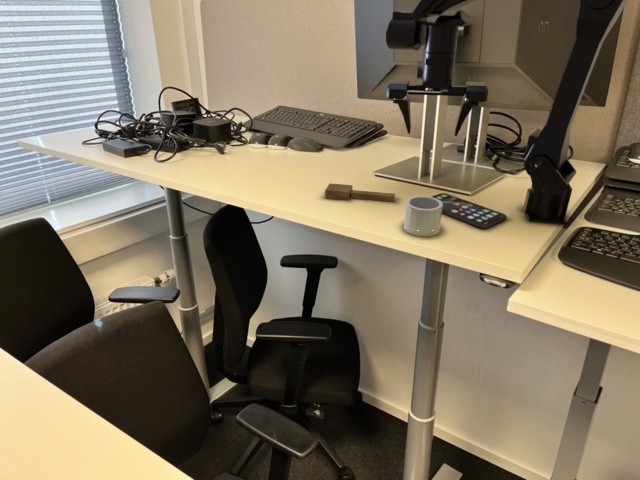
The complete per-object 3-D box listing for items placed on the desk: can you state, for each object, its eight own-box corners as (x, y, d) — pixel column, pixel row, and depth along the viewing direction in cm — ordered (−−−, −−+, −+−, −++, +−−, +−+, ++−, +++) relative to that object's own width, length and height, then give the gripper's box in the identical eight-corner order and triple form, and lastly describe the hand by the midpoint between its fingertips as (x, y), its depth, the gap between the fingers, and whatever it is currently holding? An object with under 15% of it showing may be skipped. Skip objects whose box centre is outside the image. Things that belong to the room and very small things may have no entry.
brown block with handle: (395, 196, 96) (395, 188, 96) (393, 204, 93) (393, 195, 92) (329, 191, 99) (329, 183, 99) (325, 198, 96) (325, 190, 95)
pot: (440, 222, 85) (443, 197, 83) (439, 238, 80) (442, 211, 78) (405, 219, 87) (408, 194, 84) (402, 234, 81) (404, 208, 79)
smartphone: (443, 192, 96) (508, 215, 86) (442, 195, 97) (507, 218, 86) (419, 201, 92) (484, 226, 82) (418, 204, 93) (484, 229, 82)
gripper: (489, 48, 92) (478, 126, 99) (394, 47, 96) (390, 123, 103) (493, 54, 82) (481, 141, 90) (388, 53, 87) (384, 136, 94)
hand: (432, 134), depth 94 cm, fingers open, 9 cm apart
